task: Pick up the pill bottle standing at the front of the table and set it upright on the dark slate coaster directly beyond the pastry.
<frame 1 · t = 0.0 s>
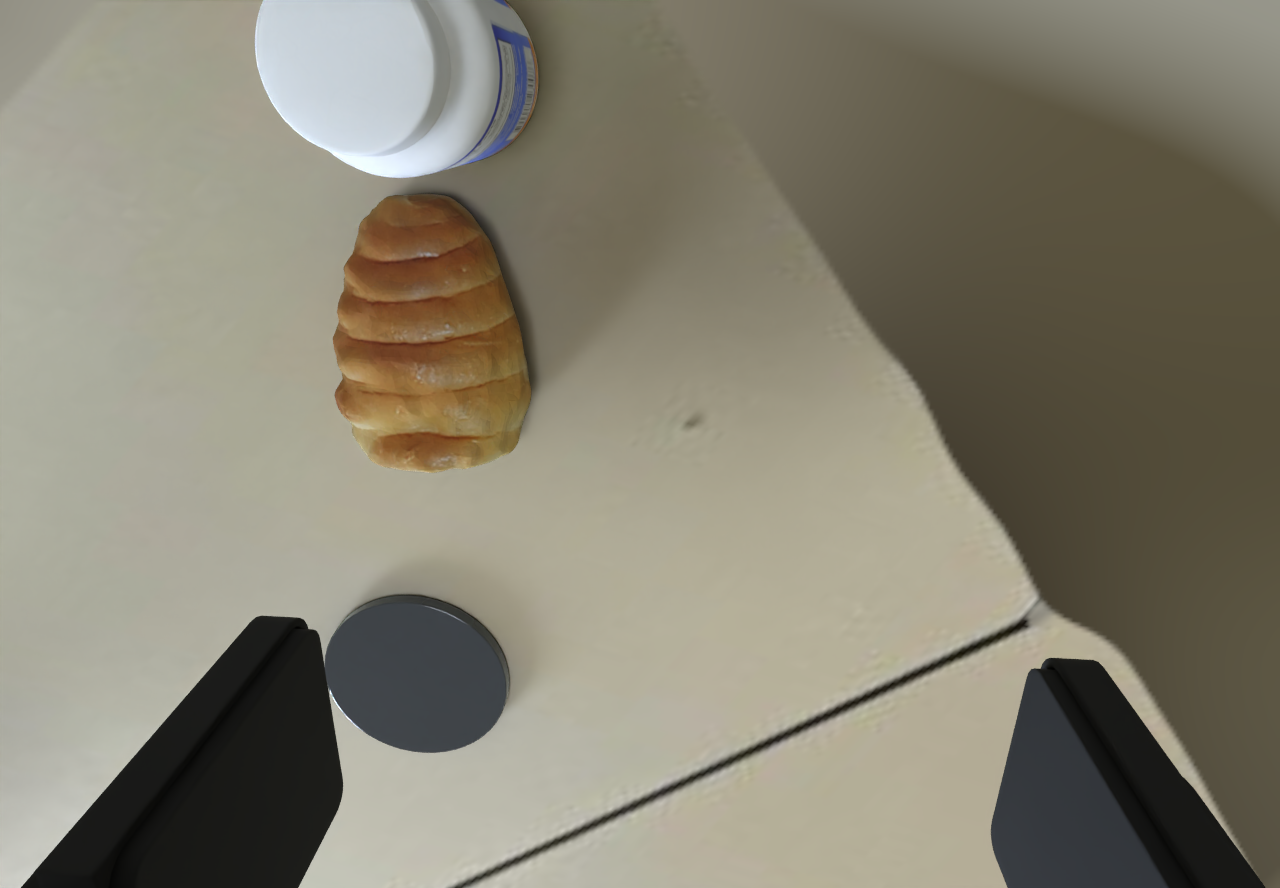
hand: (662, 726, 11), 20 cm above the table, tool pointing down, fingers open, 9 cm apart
coaster: (419, 672, 36), on the table
pastry: (438, 342, 30), on the table
pill bottle: (462, 74, 27), on the table
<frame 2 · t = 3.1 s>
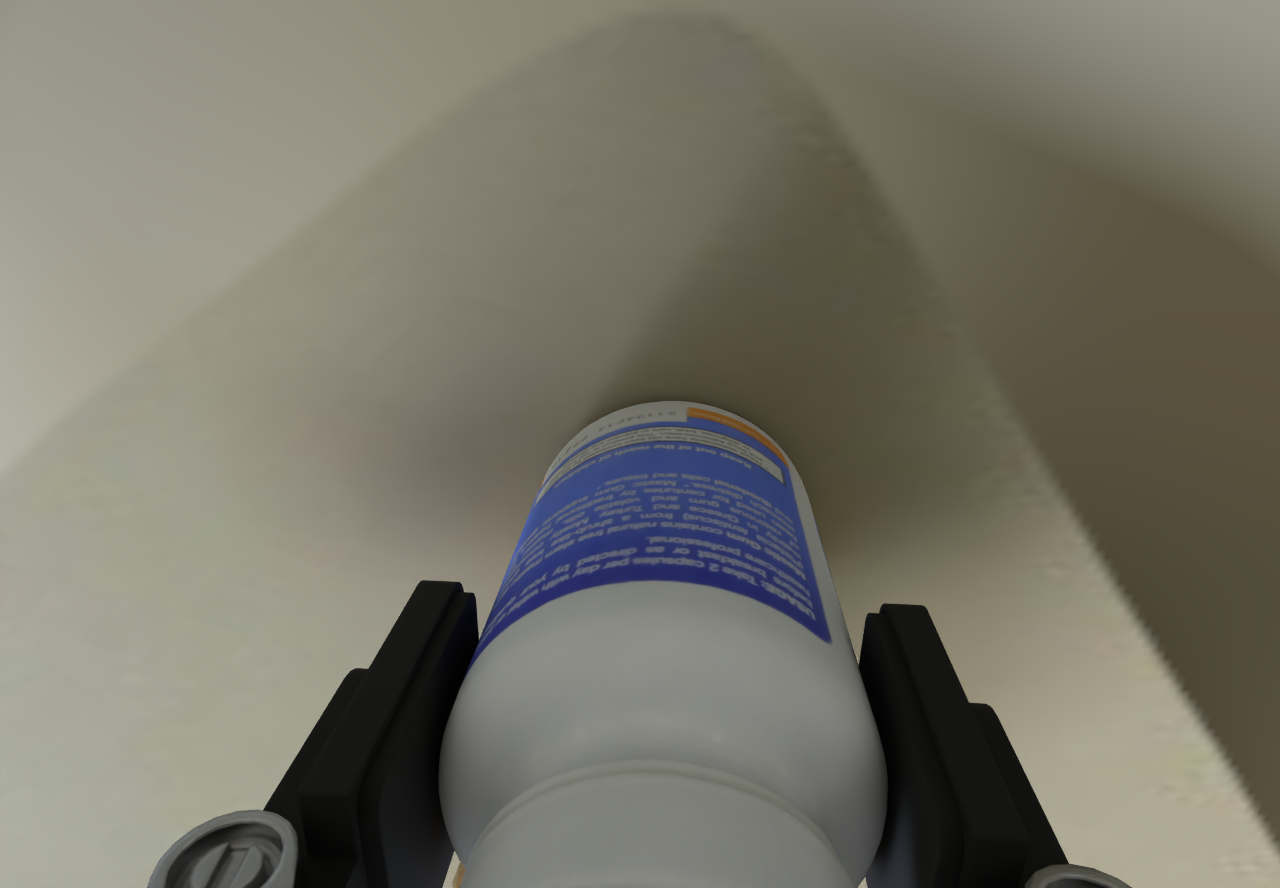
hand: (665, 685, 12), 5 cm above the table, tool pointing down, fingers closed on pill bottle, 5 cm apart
pill bottle: (675, 518, 16), on the table, touching gripper
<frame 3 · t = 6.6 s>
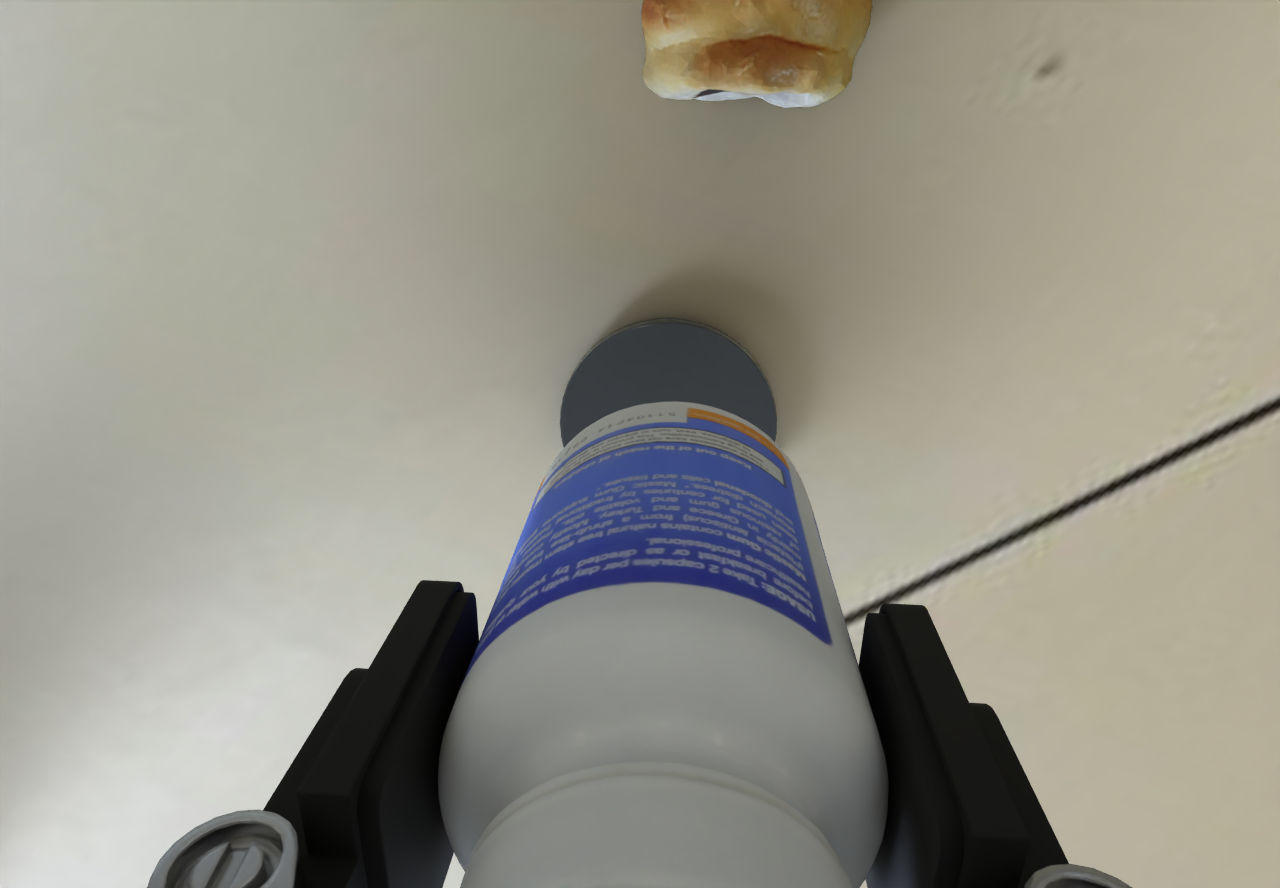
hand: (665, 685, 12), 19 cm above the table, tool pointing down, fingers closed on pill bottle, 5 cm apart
coaster: (668, 422, 31), on the table
pill bottle: (675, 519, 16), point 14 cm above the table, touching gripper
when the fingers open (5 cm above the table, at t = 10.3 s): pill bottle stays where it is, resting on coaster.
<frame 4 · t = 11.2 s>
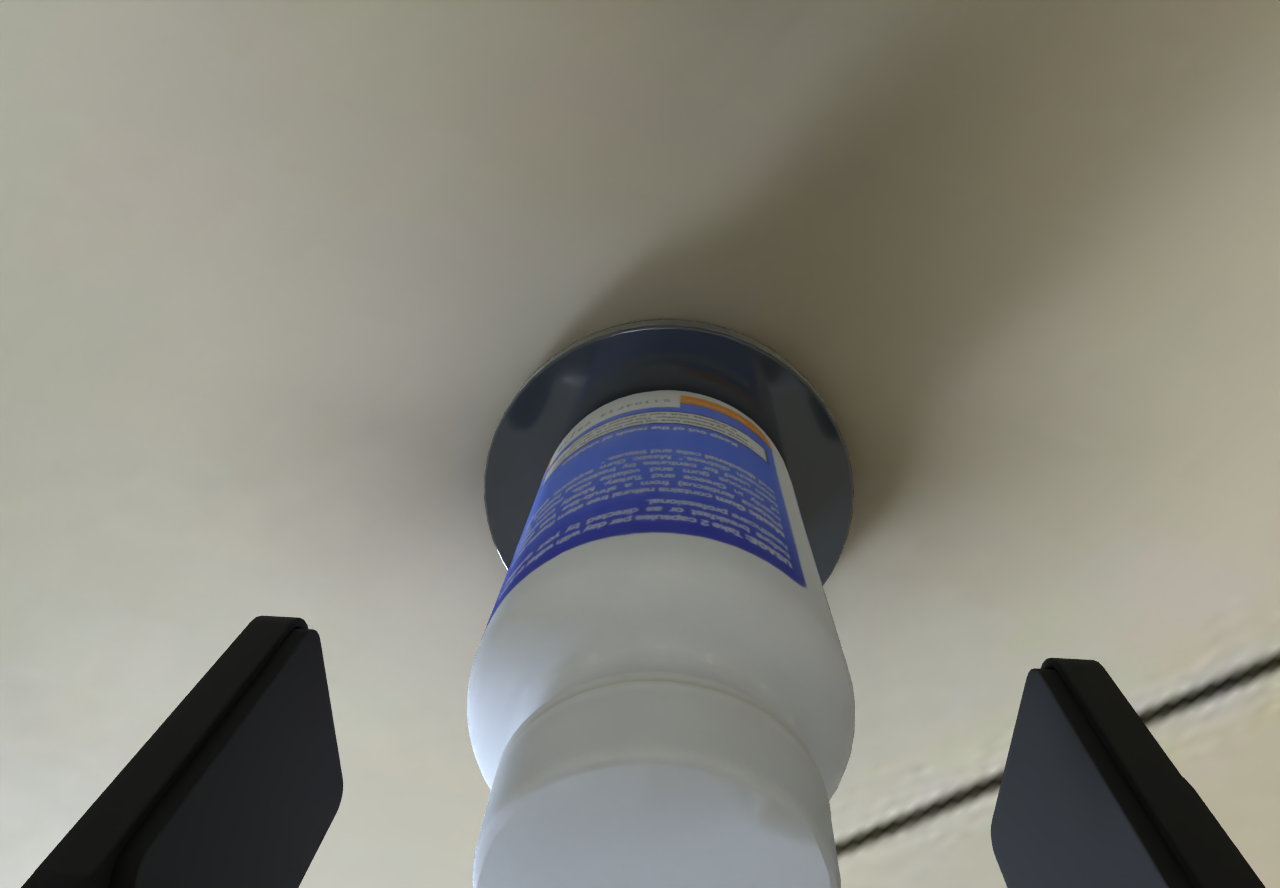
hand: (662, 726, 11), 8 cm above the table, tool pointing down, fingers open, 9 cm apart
coaster: (667, 495, 18), on the table
pill bottle: (669, 498, 18), resting on coaster
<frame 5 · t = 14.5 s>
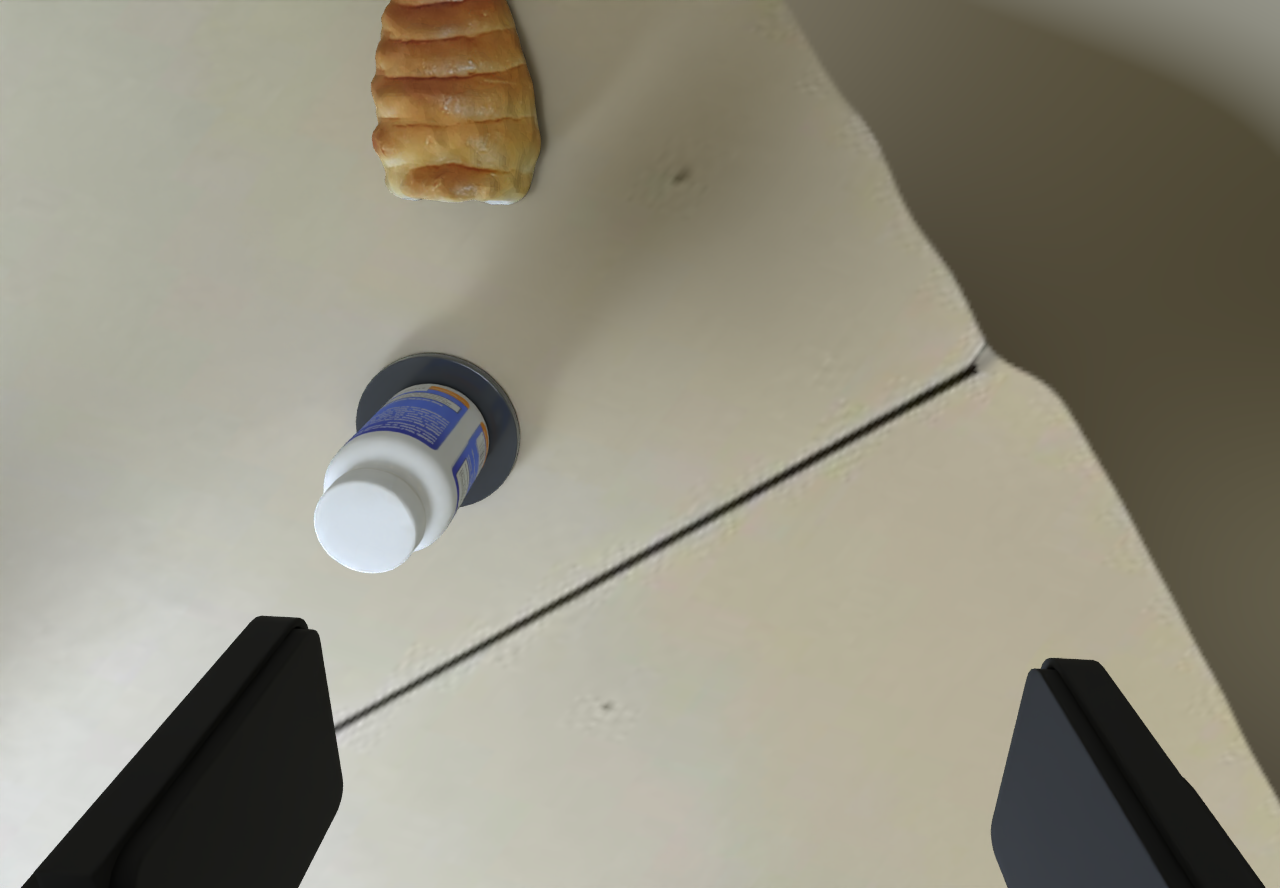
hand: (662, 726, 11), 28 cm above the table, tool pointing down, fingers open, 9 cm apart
coaster: (439, 430, 40), on the table
pastry: (460, 104, 35), on the table
pill bottle: (438, 432, 40), resting on coaster
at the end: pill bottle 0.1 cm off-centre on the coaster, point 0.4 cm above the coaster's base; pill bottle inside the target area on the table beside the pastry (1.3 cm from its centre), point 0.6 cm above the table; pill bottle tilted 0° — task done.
